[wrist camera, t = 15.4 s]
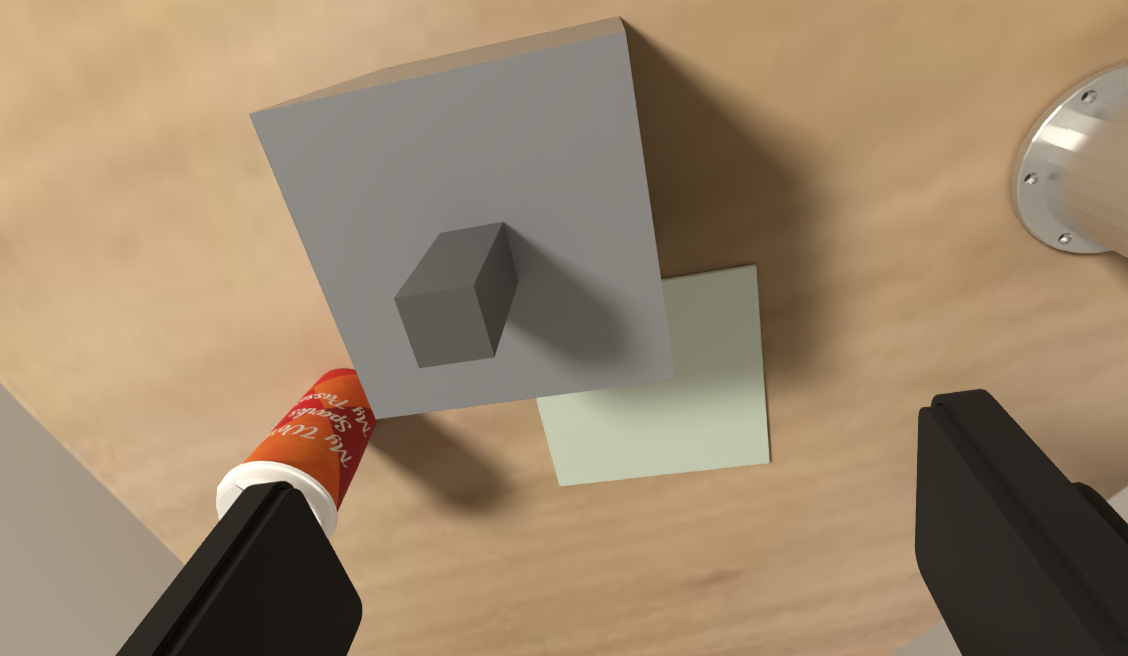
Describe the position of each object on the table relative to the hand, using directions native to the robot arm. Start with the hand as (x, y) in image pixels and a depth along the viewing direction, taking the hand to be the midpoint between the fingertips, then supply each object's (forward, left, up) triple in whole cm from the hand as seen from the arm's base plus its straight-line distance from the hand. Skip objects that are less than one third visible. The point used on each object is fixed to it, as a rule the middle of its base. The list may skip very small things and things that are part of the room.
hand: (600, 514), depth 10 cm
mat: (+1, +23, -38) cm, 44 cm away
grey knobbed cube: (+6, +3, -38) cm, 38 cm away
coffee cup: (+27, +20, -38) cm, 50 cm away
